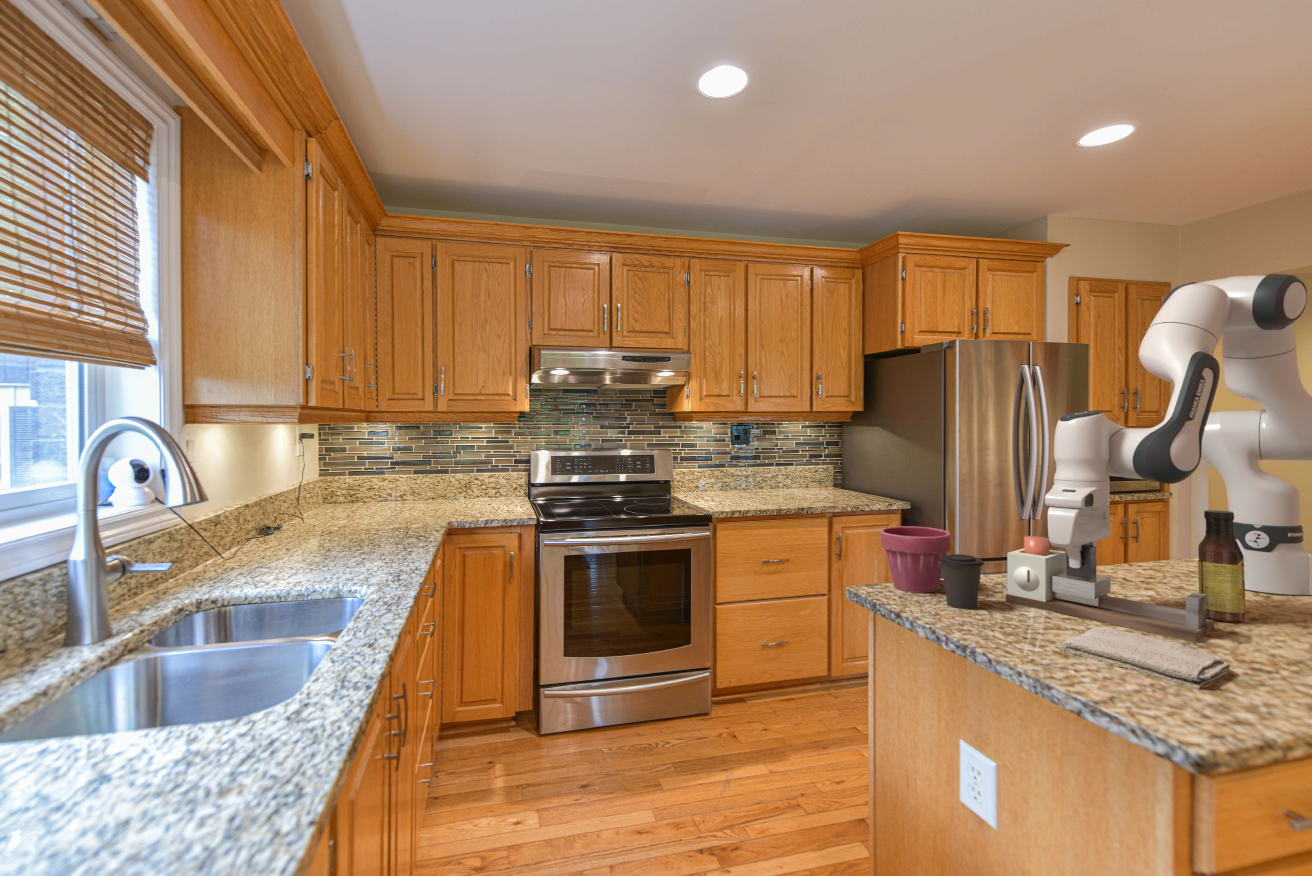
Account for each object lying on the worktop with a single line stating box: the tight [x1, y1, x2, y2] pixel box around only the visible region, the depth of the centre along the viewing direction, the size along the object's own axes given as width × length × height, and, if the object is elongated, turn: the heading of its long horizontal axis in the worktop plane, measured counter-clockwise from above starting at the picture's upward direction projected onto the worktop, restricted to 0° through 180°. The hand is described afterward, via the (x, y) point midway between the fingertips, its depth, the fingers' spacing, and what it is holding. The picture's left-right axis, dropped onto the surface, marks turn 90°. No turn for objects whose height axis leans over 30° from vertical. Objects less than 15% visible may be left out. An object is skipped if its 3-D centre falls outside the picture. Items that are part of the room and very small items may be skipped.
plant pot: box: [880, 525, 951, 594], centre depth 133 cm, size 14×14×13 cm
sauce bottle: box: [1197, 509, 1247, 623], centre depth 110 cm, size 7×6×20 cm
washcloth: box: [1061, 626, 1231, 691], centre depth 91 cm, size 12×18×3 cm, turn 32°
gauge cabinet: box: [1006, 547, 1066, 602], centre depth 122 cm, size 10×7×10 cm
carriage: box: [1052, 545, 1111, 606], centre depth 116 cm, size 8×7×11 cm
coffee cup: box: [939, 553, 985, 610], centre depth 120 cm, size 8×8×10 cm
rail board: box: [1005, 592, 1215, 643], centre depth 113 cm, size 11×30×6 cm, turn 36°
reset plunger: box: [1023, 535, 1051, 556], centre depth 122 cm, size 4×4×6 cm
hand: (1081, 565), depth 116 cm, fingers open, 4 cm apart
